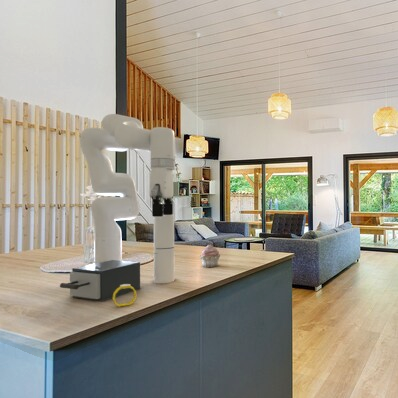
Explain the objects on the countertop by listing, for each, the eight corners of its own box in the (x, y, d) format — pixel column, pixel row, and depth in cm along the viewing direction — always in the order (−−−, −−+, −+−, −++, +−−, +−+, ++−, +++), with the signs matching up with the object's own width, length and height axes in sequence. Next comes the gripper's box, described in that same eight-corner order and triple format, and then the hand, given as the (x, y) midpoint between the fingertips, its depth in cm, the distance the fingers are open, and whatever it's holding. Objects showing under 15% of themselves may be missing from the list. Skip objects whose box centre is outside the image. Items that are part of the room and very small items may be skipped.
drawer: (81, 304, 92) (81, 279, 92) (53, 300, 96) (53, 275, 96) (133, 287, 110) (133, 265, 110) (108, 284, 113) (108, 263, 113)
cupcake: (217, 268, 143) (217, 245, 143) (196, 268, 143) (196, 245, 143) (222, 263, 152) (222, 242, 152) (203, 263, 152) (203, 242, 152)
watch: (113, 309, 91) (113, 288, 91) (112, 306, 93) (111, 285, 93) (137, 304, 95) (137, 284, 95) (134, 302, 97) (134, 282, 97)
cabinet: (102, 301, 98) (101, 271, 98) (72, 297, 102) (72, 268, 102) (140, 288, 112) (140, 262, 111) (112, 285, 116) (112, 259, 116)
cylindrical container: (167, 283, 117) (166, 215, 117) (149, 282, 119) (149, 214, 118) (178, 278, 124) (178, 214, 124) (161, 278, 126) (161, 213, 125)
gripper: (160, 167, 117) (160, 214, 117) (140, 162, 100) (140, 217, 100) (181, 167, 118) (182, 214, 118) (165, 162, 100) (165, 217, 101)
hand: (163, 215), depth 109 cm, fingers open, 9 cm apart
